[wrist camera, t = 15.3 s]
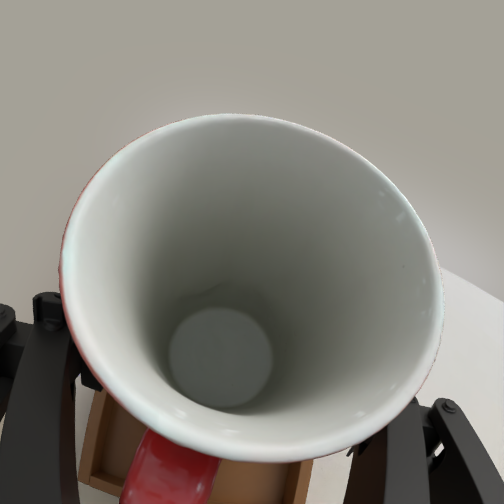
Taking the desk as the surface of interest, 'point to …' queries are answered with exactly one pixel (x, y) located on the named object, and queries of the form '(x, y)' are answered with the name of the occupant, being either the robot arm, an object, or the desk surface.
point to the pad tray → (226, 482)
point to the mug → (247, 297)
